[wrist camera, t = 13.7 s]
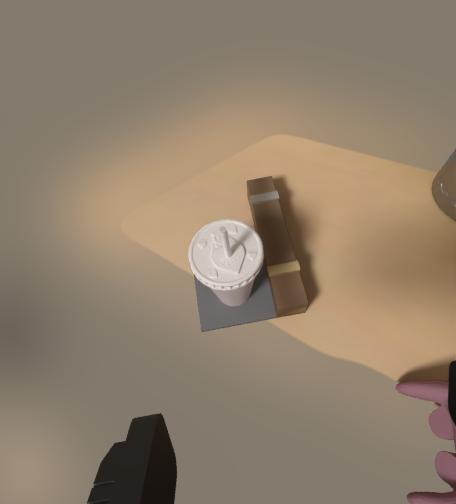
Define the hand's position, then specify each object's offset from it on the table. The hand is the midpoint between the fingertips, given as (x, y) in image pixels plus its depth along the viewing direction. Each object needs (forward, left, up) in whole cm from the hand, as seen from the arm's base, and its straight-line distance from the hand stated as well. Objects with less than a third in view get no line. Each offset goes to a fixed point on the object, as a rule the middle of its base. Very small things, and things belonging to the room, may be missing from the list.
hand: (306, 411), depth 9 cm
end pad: (+2, -13, -24) cm, 27 cm away
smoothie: (+2, -13, -24) cm, 27 cm away
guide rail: (-4, -17, -24) cm, 30 cm away
